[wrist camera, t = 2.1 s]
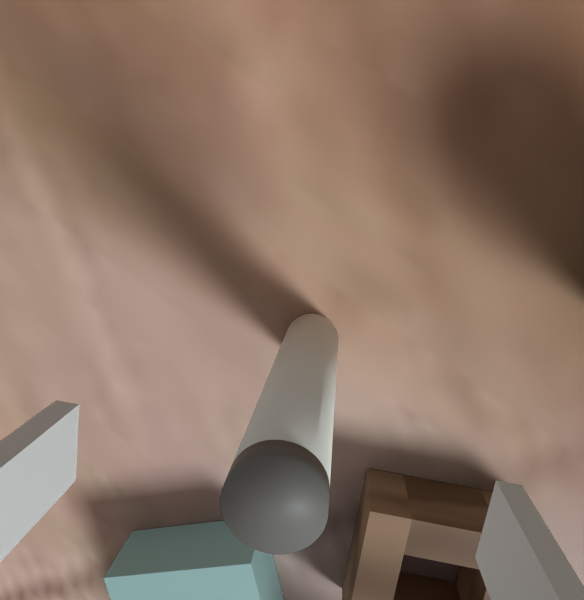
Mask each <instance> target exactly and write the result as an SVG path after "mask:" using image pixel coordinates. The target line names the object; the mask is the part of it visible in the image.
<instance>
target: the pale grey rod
mask: <svg viewBox="0 0 584 600" xmlns="http://www.w3.org/2000/svg"><path fill="white" fill-rule="evenodd" d="M337 352H338V334H337V331H336V328H335V327H334V325H333V324H332V323H331V321H329V320H328V319H327V318H325V317H323V316H321V315H318V314H305V315H302V316H299V317H298V318H296V319H295V320H294V321H293V322H292V323H291V324H290V325H289V327H288V329H287V332H286V334H285V337H284V339H283V342H282V344H281V347H280V349H279V351H278V354H277V356H276V359H275V361H274V364H273V366H272V369H271V371H270V373H269V376H268V378H267V381H266V383H265V386H264V388H263V391H262V393H261V395H260V398H259V400H258V403H257V405H256V408H255V410H254V413H253V415H252V417H251V420H250V422H249V425H248V427H247V430H246V432H245V435H244V437H243V439H242V442H241V444H240V447H239V449H238V452H237V454H236V456H235V459H234V461H233V464H232V466H231V469H230V471H229V474H228V476H227V478H226V481H225V483H224V486H223V489H222V492H221V497H220V507H221V513H222V516H223V519H224V521H225V523H226V525H227V527H228V528H229V530H230V531H231V532H232V534H233V535H234V536H235V537H236V538H237V539H239V540H240V541H241V542H242V543H244V544H245V545H247V546H249V547H251V548H252V549H255V550H257V551H260V552H264V553H268V554H290V553H294V552H297V551H300V550H302V549H305V548H306V547H308V546H310V545H311V544H312V543H313V542H315V541H316V540H317V539H318V538H319V536H320V535H321V534H322V532H323V530H324V528H325V526H326V523H327V520H328V512H329V494H330V476H331V458H332V441H333V423H334V405H335V387H336V369H337Z"/></svg>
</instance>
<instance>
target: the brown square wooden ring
mask: <svg viewBox="0 0 584 600" xmlns="http://www.w3.org/2000/svg"><path fill="white" fill-rule="evenodd" d="M492 493H493V492H492V491H487V490H481V489H476V488H471V487H465V486H460V485H455V484H449V483H444V482H439V481H433V480H428V479H423V478H417V477H412V476H407V475H401V474H396V473H390V472H385V471H380V470H374V469H369V468H367V470H366V475H365V480H364V485H363V490H362V495H361V500H360V505H359V510H358V515H357V520H356V525H355V530H354V535H353V540H352V545H351V549H350V554H349V559H348V564H347V569H346V574H345V579H344V584H343V589H342V600H490V597H489V594H488V591H487V589H486V586H485V583H484V580H483V578H482V575H481V572H480V569H479V567H478V564H477V561H476V558H475V556H476V552H477V548H478V545H479V541H480V537H481V534H482V530H483V526H484V523H485V519H486V515H487V511H488V508H489V504H490V500H491V497H492ZM404 555H409V556H414V557H419V558H424V559H429V560H434V561H439V562H444V563H449V564H454V565H459V566H460V568H459V572H458V576H457V579H456V583H453V582H448V581H444V580H439V579H434V578H429V577H424V576H419V575H414V574H409V573H404V572H400V569H401V564H402V560H403V556H404Z"/></svg>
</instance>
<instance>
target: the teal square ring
mask: <svg viewBox="0 0 584 600" xmlns="http://www.w3.org/2000/svg"><path fill="white" fill-rule="evenodd" d="M104 581H105V584H106V587H107V590H108V593H109V596H110V599H111V600H284V597H283V593H282V590H281V586H280V582H279V578H278V574H277V570H276V566H275V562H274V558H273V554H268V553H264V552H260V551H257V550H255V549H252V548H251V547H249V546H247V545H245V544H244V543H242V542H241V541H240V540H239V539H237V538H236V537H235V536H234V535H233V534H232V532H231V531H230V530H229V528H228V527H227V525H226V523H225V521H215V522H206V523H198V524H189V525H180V526H171V527H162V528H154V529H145V530H136V531H132V533H131V534H130V536H129V538H128V539H127V541H126V542H125V544H124V546H123V547H122V549H121V550H120V552H119V554H118V555H117V557H116V559H115V560H114V562H113V563H112V565H111V567H110V568H109V570H108V571H107V573H106V575H105V576H104Z"/></svg>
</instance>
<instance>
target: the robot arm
mask: <svg viewBox="0 0 584 600" xmlns="http://www.w3.org/2000/svg"><path fill="white" fill-rule="evenodd" d="M78 418H79V404H74V403H68V402H63V401H57V400H56V401H55V402H53V403H52V404H50V405H49V406H48V407H46V408H45V409H44V410H42V411H41V412H40V413H38V414H37V415H35V416H34V417H33V418H31V419H30V420H29V421H27V422H26V423H24V424H23V425H22V426H20V427H19V428H18V429H16V430H15V431H14V432H12V433H11V434H9V435H8V436H7V437H5V438H4V439H3V440H1V441H0V562H1V561H2V560H3V559H4V558H5V557H6V556H7V554H8V553H9V552H10V551H11V550H12V549H13V548H14V547H15V546H16V545H17V544H18V543H19V541H20V540H21V539H22V538H23V537H24V536H25V535H26V534H27V533H28V532H29V531H30V529H31V528H32V527H33V526H34V525H35V524H36V523H37V522H38V521H39V520H40V519H41V518H42V516H43V515H44V514H45V513H46V512H47V511H48V510H49V509H50V508H51V507H52V506H53V505H54V503H55V502H56V501H57V500H58V499H59V498H60V497H61V496H62V495H63V494H64V493H65V492H66V490H67V489H68V488H69V487H70V486H71V485H72V484H73V483H74V482H75V481H76V465H77V441H78ZM475 558H476V561H477V564H478V567H479V569H480V572H481V575H482V578H483V580H484V583H485V586H486V589H487V591H488V594H489V597H490V600H584V586H583V584H582V583H581V581H580V579H579V578H578V576H577V575H576V573H575V571H574V570H573V568H572V566H571V565H570V563H569V561H568V560H567V558H566V557H565V555H564V553H563V552H562V550H561V548H560V547H559V545H558V543H557V542H556V540H555V539H554V537H553V535H552V534H551V532H550V530H549V529H548V527H547V525H546V524H545V522H544V520H543V519H542V517H541V516H540V514H539V512H538V511H537V509H536V507H535V506H534V504H533V502H532V501H531V499H530V498H529V496H528V494H527V493H526V491H525V489H524V488H523V486H522V485H519V484H514V483H508V482H503V481H497V480H496V482H495V486H494V489H493V493H492V497H491V500H490V504H489V508H488V511H487V515H486V519H485V523H484V526H483V530H482V534H481V537H480V541H479V545H478V548H477V552H476V556H475Z"/></svg>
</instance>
